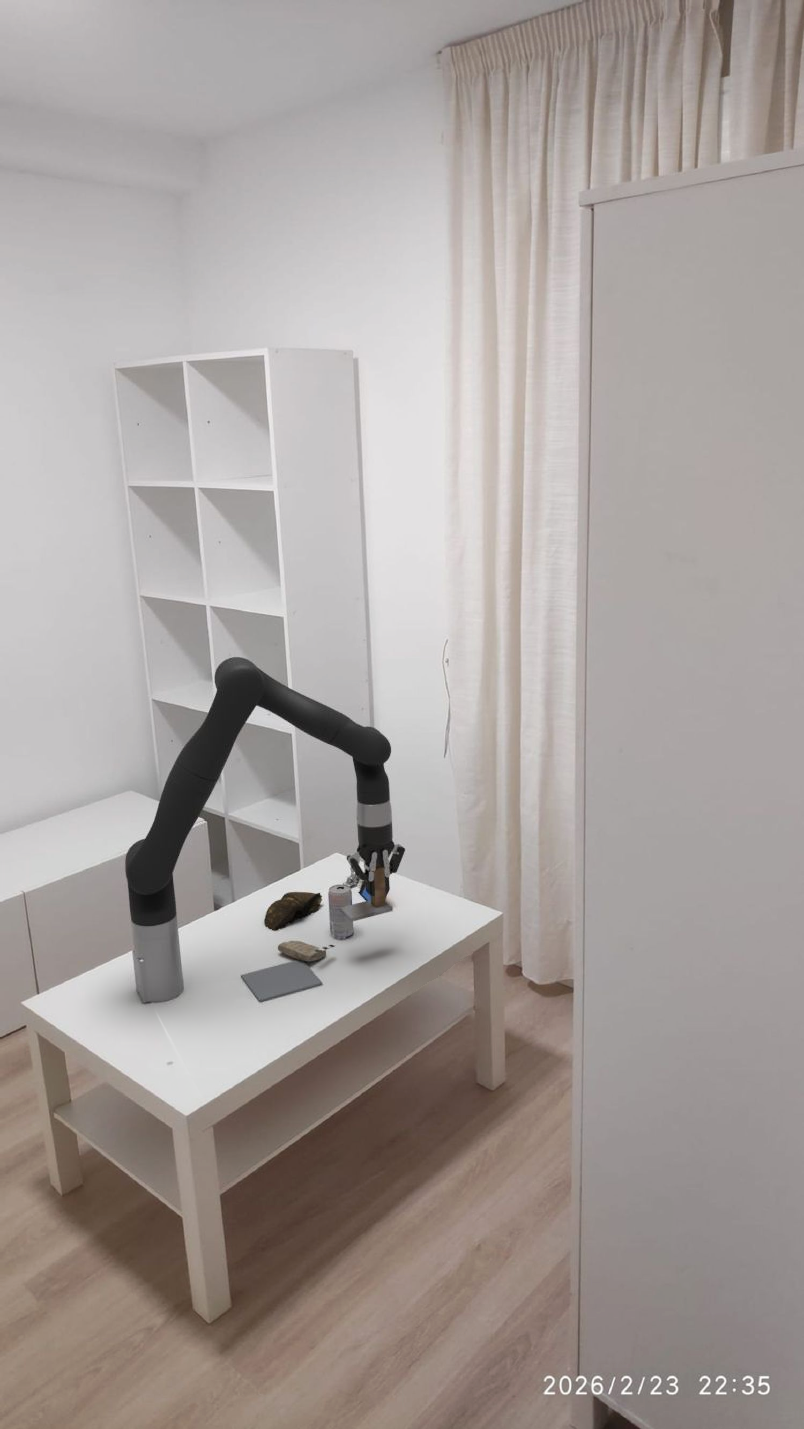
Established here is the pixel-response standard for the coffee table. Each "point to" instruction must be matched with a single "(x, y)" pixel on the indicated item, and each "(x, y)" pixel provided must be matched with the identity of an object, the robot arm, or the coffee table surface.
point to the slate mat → (281, 980)
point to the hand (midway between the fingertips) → (377, 893)
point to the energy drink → (338, 922)
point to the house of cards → (353, 880)
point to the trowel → (371, 906)
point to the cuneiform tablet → (303, 950)
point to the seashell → (291, 909)
